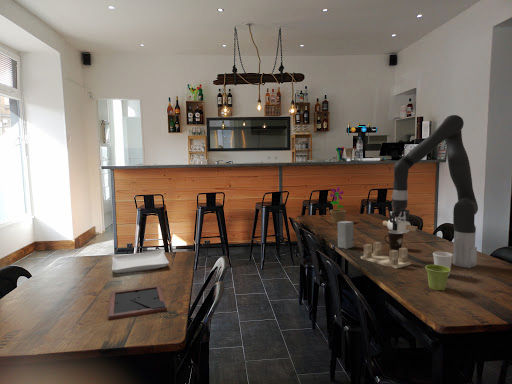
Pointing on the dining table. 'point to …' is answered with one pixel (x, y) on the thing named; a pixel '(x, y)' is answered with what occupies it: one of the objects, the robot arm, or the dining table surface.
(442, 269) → the plant pot
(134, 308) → the picture frame
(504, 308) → the dining table surface
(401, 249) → the holder
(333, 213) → the flowerpot
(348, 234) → the skincare box
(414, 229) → the roll
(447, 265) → the dixie cup
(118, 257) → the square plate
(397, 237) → the coffee mug
